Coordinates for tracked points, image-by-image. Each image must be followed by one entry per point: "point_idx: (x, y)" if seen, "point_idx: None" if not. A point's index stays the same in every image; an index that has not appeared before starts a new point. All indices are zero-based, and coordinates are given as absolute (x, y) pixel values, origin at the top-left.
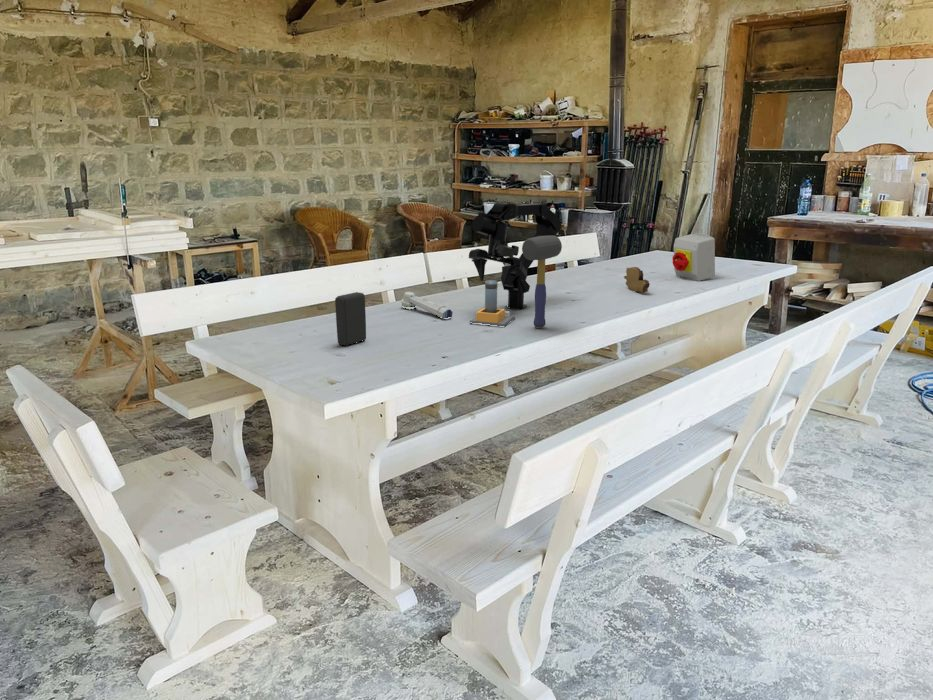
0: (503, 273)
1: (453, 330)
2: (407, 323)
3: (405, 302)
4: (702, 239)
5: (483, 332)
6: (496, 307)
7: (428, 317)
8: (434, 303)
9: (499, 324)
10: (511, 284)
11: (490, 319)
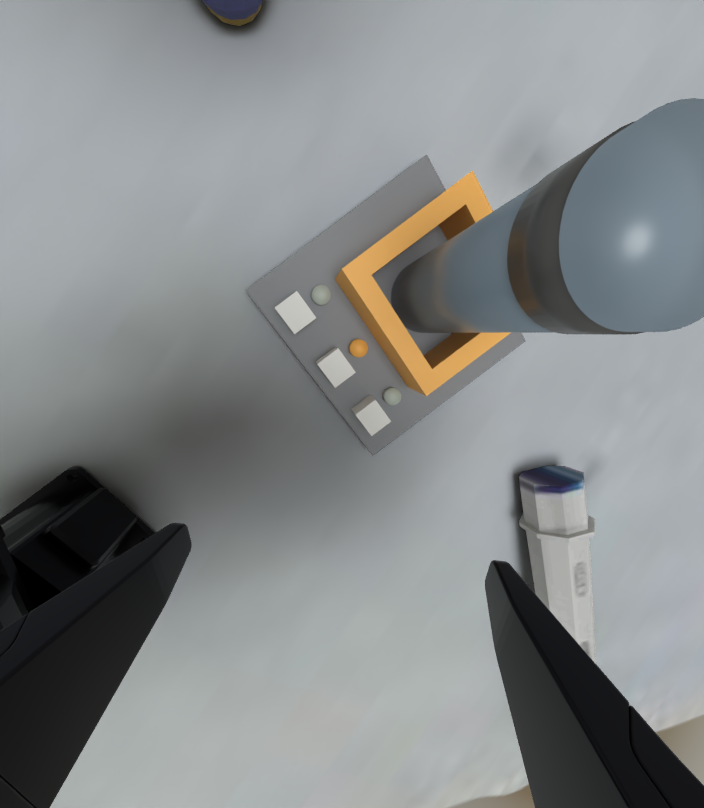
0: (63, 737)
1: None
2: (685, 487)
3: None
4: None
5: (561, 153)
6: (438, 246)
7: None
8: (577, 599)
9: (438, 183)
10: (18, 617)
11: None
